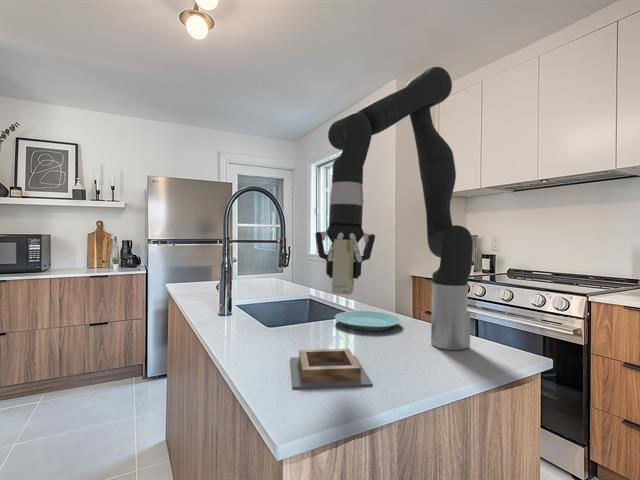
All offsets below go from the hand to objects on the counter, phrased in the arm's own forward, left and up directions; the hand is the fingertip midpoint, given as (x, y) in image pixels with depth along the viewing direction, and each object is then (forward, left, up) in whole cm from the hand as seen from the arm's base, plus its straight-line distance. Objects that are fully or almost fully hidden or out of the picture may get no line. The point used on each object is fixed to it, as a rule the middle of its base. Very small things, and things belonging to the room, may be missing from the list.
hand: (343, 277), depth 77 cm
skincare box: (0, 0, -4) cm, 4 cm away
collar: (+4, +3, -20) cm, 21 cm away
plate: (-15, -35, -21) cm, 44 cm away
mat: (+4, +3, -20) cm, 21 cm away
